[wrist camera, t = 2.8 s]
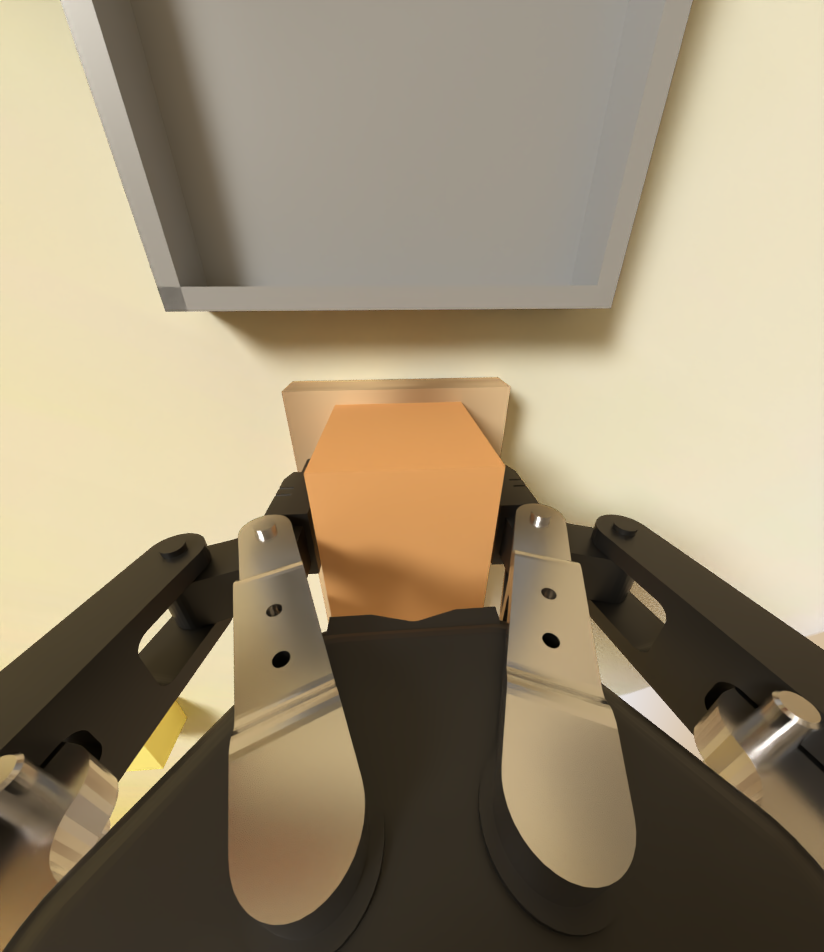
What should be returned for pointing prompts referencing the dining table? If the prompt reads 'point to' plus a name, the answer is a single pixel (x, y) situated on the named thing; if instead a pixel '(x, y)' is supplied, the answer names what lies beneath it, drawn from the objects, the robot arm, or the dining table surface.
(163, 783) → the robot arm
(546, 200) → the tray
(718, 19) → the dining table surface
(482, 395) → the wooden board
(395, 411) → the block
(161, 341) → the dining table surface
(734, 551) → the dining table surface
